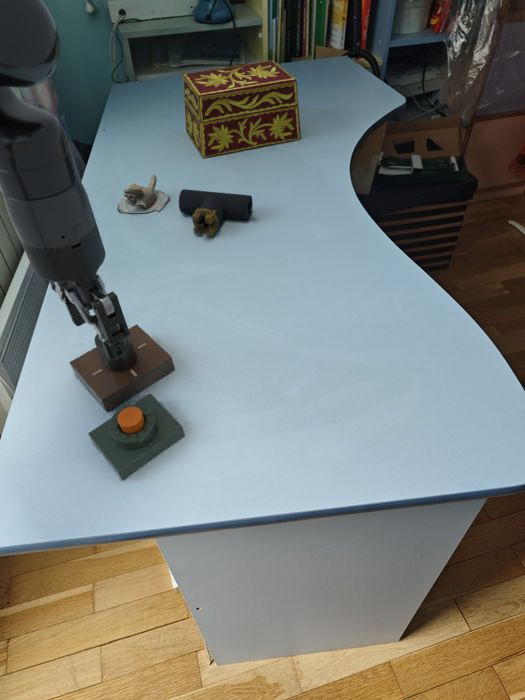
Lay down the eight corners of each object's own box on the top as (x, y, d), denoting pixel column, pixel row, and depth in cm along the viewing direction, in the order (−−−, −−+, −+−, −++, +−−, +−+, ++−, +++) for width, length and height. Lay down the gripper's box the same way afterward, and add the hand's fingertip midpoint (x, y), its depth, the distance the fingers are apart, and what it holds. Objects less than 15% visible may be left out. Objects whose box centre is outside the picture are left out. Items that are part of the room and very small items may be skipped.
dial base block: (107, 412, 70) (101, 399, 68) (75, 374, 76) (68, 361, 73) (175, 369, 76) (171, 356, 73) (140, 336, 81) (136, 323, 79)
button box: (122, 480, 63) (114, 464, 60) (92, 442, 67) (83, 425, 64) (185, 435, 67) (180, 418, 64) (153, 402, 71) (147, 385, 68)
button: (128, 438, 63) (125, 430, 62) (116, 423, 65) (112, 415, 63) (149, 424, 64) (146, 416, 63) (136, 410, 66) (133, 402, 65)
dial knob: (143, 358, 73) (135, 334, 70) (115, 377, 71) (106, 353, 67) (124, 342, 76) (116, 318, 72) (97, 360, 73) (87, 336, 70)
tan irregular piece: (174, 198, 113) (170, 173, 110) (150, 218, 105) (145, 191, 101) (136, 195, 116) (131, 170, 112) (110, 214, 107) (103, 188, 104)
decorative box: (276, 115, 143) (276, 57, 132) (301, 139, 131) (302, 78, 120) (185, 131, 137) (177, 73, 126) (202, 158, 125) (194, 96, 114)
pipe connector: (237, 218, 95) (165, 210, 98) (238, 241, 99) (170, 233, 102) (251, 190, 103) (185, 184, 106) (253, 212, 107) (188, 206, 109)
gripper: (-9, 212, 51) (46, 325, 62) (54, 270, 43) (102, 387, 55) (58, 187, 54) (98, 298, 66) (126, 237, 47) (157, 353, 58)
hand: (100, 338), depth 60 cm, fingers open, 8 cm apart
